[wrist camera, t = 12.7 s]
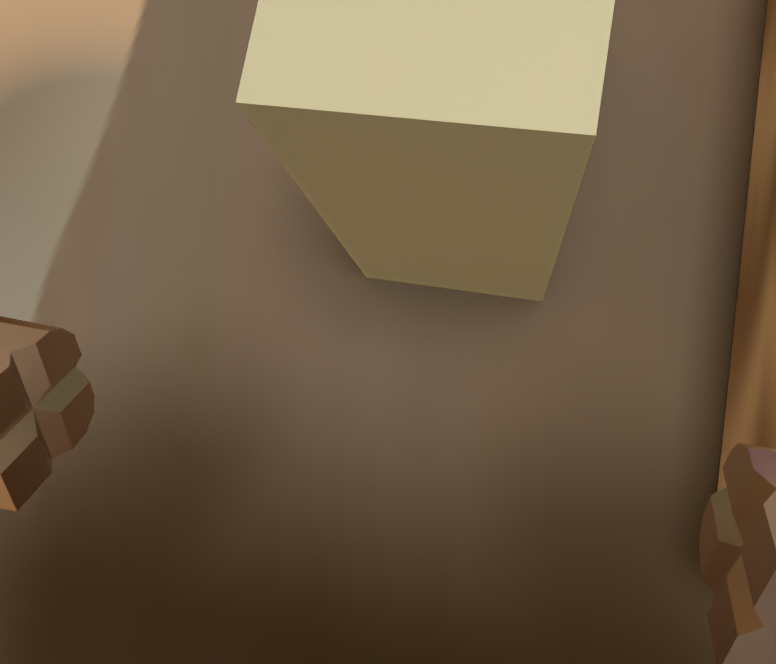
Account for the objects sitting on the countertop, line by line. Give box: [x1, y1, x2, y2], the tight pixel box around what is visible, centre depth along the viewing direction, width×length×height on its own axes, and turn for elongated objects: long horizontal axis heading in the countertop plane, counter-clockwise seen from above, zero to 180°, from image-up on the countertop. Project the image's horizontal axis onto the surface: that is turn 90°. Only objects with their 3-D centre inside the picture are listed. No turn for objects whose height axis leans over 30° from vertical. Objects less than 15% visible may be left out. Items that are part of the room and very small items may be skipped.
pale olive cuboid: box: [236, 0, 615, 302], centre depth 13 cm, size 7×4×9 cm, turn 170°
